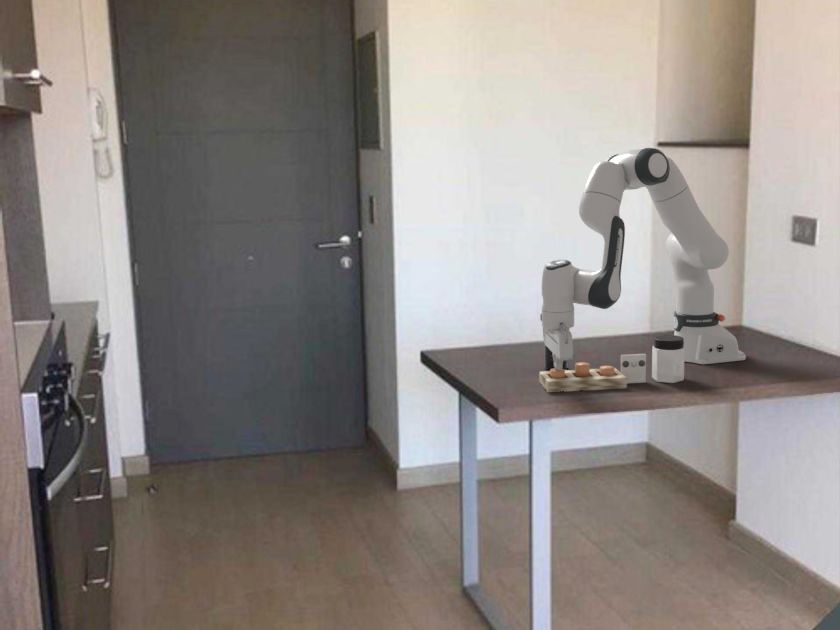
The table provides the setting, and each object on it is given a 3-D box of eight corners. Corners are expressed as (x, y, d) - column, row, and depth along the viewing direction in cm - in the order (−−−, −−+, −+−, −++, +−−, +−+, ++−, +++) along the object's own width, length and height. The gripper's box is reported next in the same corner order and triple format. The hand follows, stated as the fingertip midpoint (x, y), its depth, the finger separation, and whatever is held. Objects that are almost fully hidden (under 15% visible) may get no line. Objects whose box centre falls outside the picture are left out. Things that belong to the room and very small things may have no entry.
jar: (668, 384, 274) (669, 342, 271) (645, 379, 280) (646, 337, 278) (689, 379, 279) (691, 337, 276) (667, 373, 285) (668, 333, 283)
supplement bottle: (543, 365, 298) (543, 326, 296) (566, 365, 298) (566, 326, 296) (545, 371, 291) (545, 331, 289) (568, 371, 291) (568, 331, 289)
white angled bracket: (642, 379, 280) (643, 352, 278) (646, 382, 277) (646, 354, 275) (618, 380, 279) (618, 353, 277) (621, 383, 276) (621, 355, 275)
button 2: (611, 375, 278) (612, 365, 278) (615, 379, 274) (616, 368, 274) (597, 376, 278) (598, 366, 277) (601, 380, 274) (601, 369, 273)
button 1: (562, 378, 277) (563, 367, 276) (566, 381, 273) (566, 371, 273) (548, 378, 277) (548, 368, 276) (552, 382, 273) (552, 371, 272)
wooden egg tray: (615, 378, 282) (615, 367, 282) (626, 388, 271) (626, 377, 271) (539, 381, 280) (539, 371, 280) (547, 392, 270) (547, 381, 269)
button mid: (587, 372, 277) (587, 362, 277) (591, 376, 273) (591, 365, 273) (573, 373, 277) (573, 362, 276) (577, 376, 273) (577, 366, 273)
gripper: (578, 327, 262) (578, 377, 264) (560, 312, 282) (560, 359, 284) (555, 328, 261) (555, 378, 264) (538, 313, 281) (539, 360, 284)
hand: (558, 368), depth 274 cm, fingers closed
